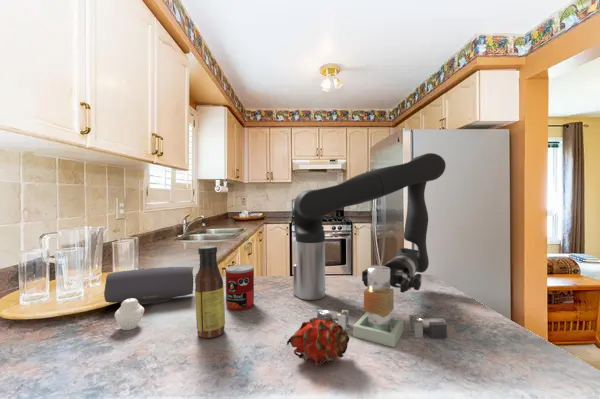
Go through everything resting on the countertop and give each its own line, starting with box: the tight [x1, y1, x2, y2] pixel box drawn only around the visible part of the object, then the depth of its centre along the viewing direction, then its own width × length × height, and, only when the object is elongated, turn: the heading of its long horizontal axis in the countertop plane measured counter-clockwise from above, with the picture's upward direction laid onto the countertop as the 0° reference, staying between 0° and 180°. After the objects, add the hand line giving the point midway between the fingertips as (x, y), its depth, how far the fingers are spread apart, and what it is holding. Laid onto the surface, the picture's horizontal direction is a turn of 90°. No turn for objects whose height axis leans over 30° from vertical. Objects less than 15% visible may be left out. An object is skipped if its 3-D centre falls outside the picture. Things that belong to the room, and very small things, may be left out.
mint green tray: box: [352, 312, 405, 348], centre depth 66 cm, size 9×9×2 cm
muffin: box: [114, 298, 145, 331], centre depth 69 cm, size 6×6×7 cm
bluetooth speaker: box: [103, 266, 194, 305], centre depth 87 cm, size 23×9×10 cm, turn 108°
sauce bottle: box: [194, 245, 226, 339], centre depth 66 cm, size 6×6×20 cm
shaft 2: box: [408, 314, 448, 340], centre depth 65 cm, size 7×4×3 cm, turn 88°
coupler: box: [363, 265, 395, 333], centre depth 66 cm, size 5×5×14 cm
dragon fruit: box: [286, 317, 351, 367], centre depth 55 cm, size 8×8×12 cm
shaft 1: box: [316, 307, 350, 332], centre depth 70 cm, size 7×4×3 cm, turn 68°
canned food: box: [225, 264, 255, 312], centre depth 83 cm, size 8×8×11 cm
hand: (383, 285), depth 69 cm, fingers open, 8 cm apart
